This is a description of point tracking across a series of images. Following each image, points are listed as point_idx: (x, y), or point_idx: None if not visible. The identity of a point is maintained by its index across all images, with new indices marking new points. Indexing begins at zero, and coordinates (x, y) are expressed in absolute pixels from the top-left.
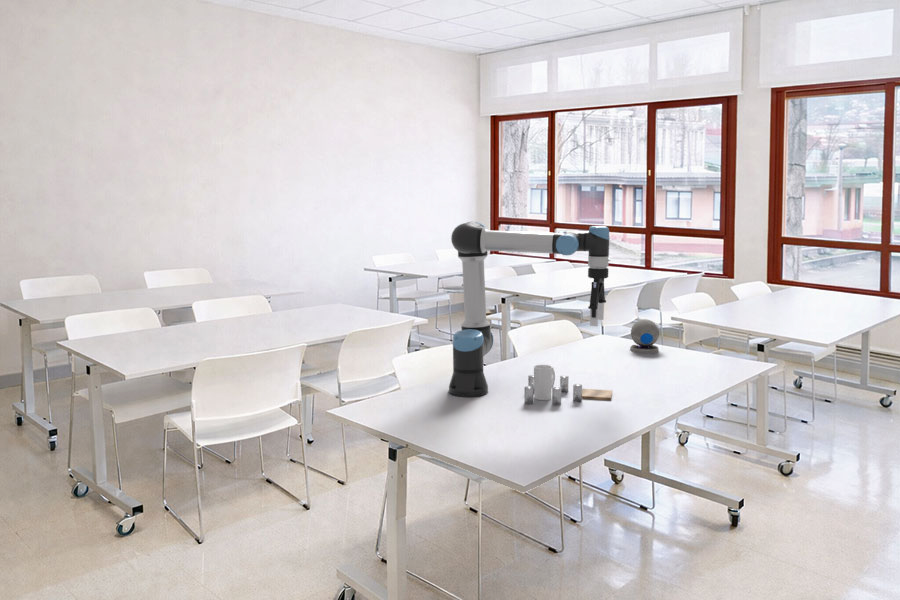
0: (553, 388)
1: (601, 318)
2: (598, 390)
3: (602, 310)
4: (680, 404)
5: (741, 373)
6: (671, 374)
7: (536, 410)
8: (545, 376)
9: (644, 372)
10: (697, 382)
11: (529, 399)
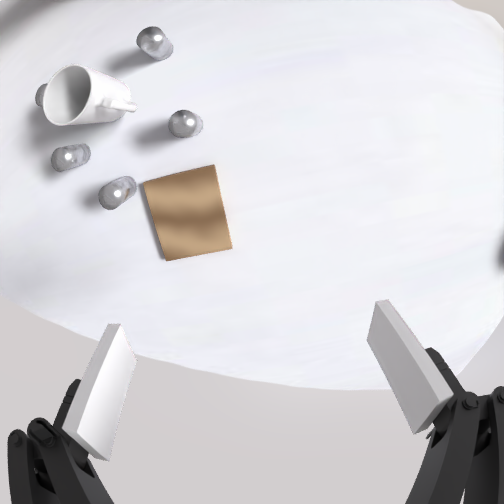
0: (55, 152)
1: (373, 336)
2: (215, 217)
3: (393, 384)
4: (211, 367)
5: None
6: (412, 316)
7: (34, 138)
8: (60, 116)
9: (424, 270)
10: (364, 360)
11: None
